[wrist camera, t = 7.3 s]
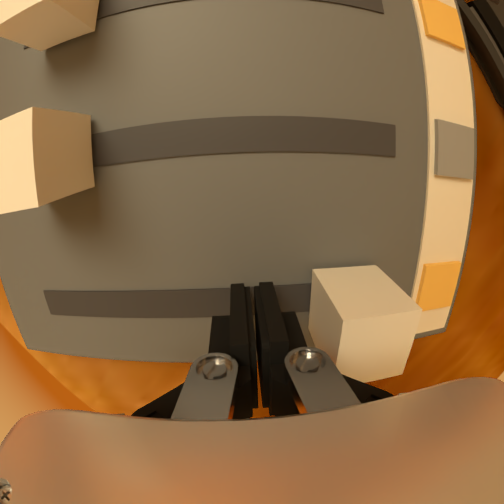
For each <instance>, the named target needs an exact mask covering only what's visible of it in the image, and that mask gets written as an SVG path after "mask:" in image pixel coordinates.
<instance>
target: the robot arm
mask: <svg viewBox="0 0 504 504" xmlns="http://www.w3.org/2000/svg"><path fill="white" fill-rule="evenodd" d="M254 307H255V330H254V321H253V312H252V303H251V294H250V286H247V287H244V283H237V284H231V289H230V315H223V316H212V323H211V332H210V341H209V350H208V354H205V355H202V356H200V357H198V358H197V359H196V360H195V361H194V362H193V364H192V365H191V367H190V370H189V373H188V375H187V378H186V380H185V382H184V383H183V384H181V385H180V386H178V387H176V388H175V389H173V390H171V391H169V392H168V393H166V394H164V395H163V396H161V397H159V398H158V399H156V400H154V401H152V402H151V403H149V404H147V405H145V406H143V407H142V408H140V409H138V410H137V411H135V412H134V413H133V414H132V415H131V416H127V415H125V414H108V413H99V412H91V411H83V410H69V409H65V410H64V409H60V410H59V409H58V410H55V409H54V410H46V411H39V412H34V413H31V414H28V415H26V416H24V417H23V418H21V419H20V420H19V421H18V422H17V423H16V424H15V425H14V426H13V427H12V428H11V430H10V431H9V433H8V434H7V435H6V437H5V438H4V440H3V442H2V443H1V445H0V504H504V382H502V381H500V380H498V379H495V378H490V377H469V378H461V379H456V380H452V381H447V382H443V383H440V384H437V385H433V386H430V387H426V388H422V389H419V390H415V391H412V392H408V393H399V394H398V395H397V396H393V395H392V394H390V393H389V392H387V391H384V390H381V389H379V388H376V387H373V386H371V385H368V384H366V383H363V382H361V381H358V380H355V379H353V378H350V377H348V376H346V375H343V374H341V373H340V371H339V370H338V368H337V367H336V365H335V364H334V363H333V361H332V360H331V358H330V357H329V355H328V354H327V353H326V352H324V351H322V350H321V349H318V348H314V347H307V344H306V341H305V338H304V335H303V332H302V330H301V327H300V324H299V321H298V318H297V315H296V313H295V311H290V312H281V310H280V306H279V303H278V299H277V295H276V292H275V288H274V284H273V282H259V286H254ZM255 336H256V339H255ZM256 351H257V356H256ZM257 360H258V369H259V378H260V387H261V396H262V404H263V408H266V407H269V414H270V416H271V415H275V416H276V417H264V418H250V417H253V416H252V415H253V411H252V408H258V387H257Z"/></svg>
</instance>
